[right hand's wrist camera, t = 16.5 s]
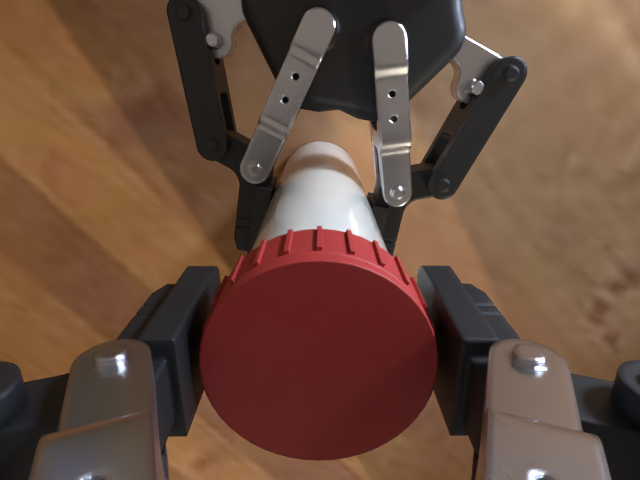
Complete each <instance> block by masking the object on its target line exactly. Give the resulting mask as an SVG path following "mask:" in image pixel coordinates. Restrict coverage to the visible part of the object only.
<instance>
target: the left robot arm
mask: <svg viewBox="0 0 640 480" xmlns="http://www.w3.org/2000/svg"><path fill="white" fill-rule="evenodd" d="M167 15H168V20H169V24H170V29H171V33H172V38H173V42H174V47H175V51H176V56H177V60H178V65H179V69H180V74H181V78H182V83H183V87H184V92H185V96H186V101H187V105H188V110H189V114H190V119H191V123H192V127H193V132H194V136H195V141H196V145H197V149H198V152H199V153H200V155H201V156H202V157H204V158H205V159H207V160H210V161H217V162H219V163H221V164H223V165H225V166H227V167H228V168H230V169H232V170H233V171H234V172H235V173H236V175H237V176H238V179H239V182H240V189H239V198H238V208H237V218H236V227H235V236H234V239H235V243H236V246H237V249H238V250H244V251H248V254H249V253H250V252H251V249H252V247H253V244H254V242H255V239H256V237H257V234H258V232H259V229H260V227H261V224H262V222H263V219H264V217H265V214H266V212H267V209H268V207H269V204H270V202H271V199H272V197H273V194H274V192H275V189H276V181H277V177H273V169H274V164H275V162H276V160H277V158H278V156H279V154H280V151H281V149H282V147H283V145H284V143H285V141H286V138H287V136H288V134H289V132H290V130H291V128H292V126H293V124H294V121H295V119H296V117H297V115H298V113H299V111H300V109H306V110H312V111H317V112H320V111H330V110H341V111H343V112H345V113H347V114H349V115H351V116H354V117H356V118H358V119H363V120H369V122H370V133H371V140H372V145H373V155H374V166H375V178H376V183H375V188H374V192H373V193H368V195H367V199H368V201H369V204H370V207H371V209H372V212H373V214H374V217H375V220H376V222H377V225H378V227H379V230H380V233H381V235H382V238H383V240H384V243H385V246H386V248H387V251H388V253H389V254H390V255H391V256H393V250H394V247H395V242H396V239H397V235H398V231H399V227H400V223H401V219H402V215H403V211H404V209H405V208H406V207H407V206H408V204H410V203H411V202H413V201H415V200H419V199H424V198H430V197H435V198H437V199H447V198H449V197H451V196H452V195H453V194H454V193H455V192H456V190H457V189H458V187H459V186H460V184H461V182H462V181H463V179H464V178H465V176H466V174H467V173H468V171H469V169H470V168H471V166H472V165H473V163H474V161H475V160H476V158H477V156H478V155H479V153H480V152H481V150H482V148H483V147H484V145H485V144H486V142H487V140H488V139H489V137H490V135H491V134H492V132H493V131H494V129H495V127H496V126H497V124H498V123H499V121H500V119H501V118H502V116H503V114H504V113H505V111H506V110H507V108H508V106H509V105H510V103H511V101H512V100H513V98H514V97H515V95H516V93H517V92H518V90H519V89H520V87H521V85H522V84H523V82H524V80H525V78H526V75H527V66H526V64H525V62H524V61H523V60H522V59H521V58H519V57H516V56H509V57H508V56H499V55H498V54H496V53H494V52H492V51H491V50H489V49H487V48H486V47H484V46H482V45H480V44H479V43H477V42H475V41H473V40H472V39H470V38H468V37H466V36H465V35H466V23H465V19H464V15H463V9H462V0H169V2H168V5H167ZM245 24H248V26H249V28H250V30H251V32H252V34H253V36H254V38H255V40H256V42H257V44H258V46H259V48H260V50H261V52H262V54H263V56H264V58H265V60H266V62H267V64H268V66H269V68H270V70H271V72H272V74H273V76H274V78H275V80H276V81H275V83H274V86H273V88H272V90H271V93H270V95H269V97H268V99H267V102H266V104H265V106H264V109H263V111H262V113H261V116H260V118H259V121H258V125H257V127H256V130H255V132H254V134H253V137H252V139H251V140H250V139H249V138H247V137H245V136H243V135H241V134H240V133H238V132H237V131H236V125H235V120H234V115H233V109H232V104H231V99H230V94H229V88H228V83H227V78H226V72H225V67H224V62H223V59H226V58H229V57H230V56H231V55H232V54H233V53H234V51H235V49H236V35H237V33H238V31H239V29H240V28H241V27H242V26H243V25H245ZM449 62H450V63H451V65H452V66H453V69H454V77H453V80H452V83H451V87H450V90H451V94H452V96H453V98H454V99H455V100H457V101H456V103H455V105H454V106H453V108H452V110H451V111H450V113H449V115H448V117H447V118H446V120H445V122H444V124H443V125H442V127H441V129H440V131H439V132H438V134H437V136H436V138H435V139H434V141H433V143H432V144H431V146H430V148H429V150H428V151H427V153H426V155H425V157H424V158H423V160H422V162H421V164H415V165H410V148H411V124H410V107H409V100H410V99H412V98H413V97H414V96H415V95H416V94H417V93H418V92H419V91H420V90H421V89H422V88H423V87H424V86H425V85H426V84H427V83H428V82H429V81H430V80H431V79H432V78H433V77H434V76H435V75H436V74H437V73H439V72H440V71H441V70H442V69H443V68H444V67H445V66H446V65H447V64H448V63H449ZM248 254H247V255H248Z"/></svg>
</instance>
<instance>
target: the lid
mask: <svg viewBox="0 0 640 480" xmlns="http://www.w3.org/2000/svg"><path fill="white" fill-rule="evenodd" d="M211 306H212V308H211V310H210V312H209V315H208V317H207V319H206V321H205V323H204V325H203V327H202V332H203V335H202V339H201V342H200V350H199V370H200V375H201V380H202V384H203V387H204V389H205V392H206V395H207V397H208V399H209V401H210V403H211V405H212V406H213V408H214V409H215V411H216V412H217V413H218V415H219V416H220V417H221V418H222V419H223V421H224V422H225V423H226V424H227V425H228V426H229V427H230V428H231V429H233V430H234V431H235V432H236V433H237V434H239V435H240V436H241V437H243V438H244V439H246V440H248V441H249V442H251V443H252V444H254V445H256V446H258V447H260V448H262V449H265V450H267V451H270V452H273V453H275V454H279V455H283V456H286V457H290V458H297V459H303V460H334V459H341V458H347V457H351V456H355V455H359V454H362V453H365V452H368V451H370V450H373V449H375V448H377V447H379V446H381V445H383V444H385V443H387V442H389V441H390V440H392V439H393V438H395V437H396V436H398V435H399V434H400V433H401V432H403V431H404V430H405V429H406V428H408V427H409V425H410V424H411V423H412V422H413V421H414V420H415V419H416V418H417V417H418V415H419V414H420V413H421V411H422V410H423V409H424V407H425V405H426V404H427V402H428V400H429V398H430V396H431V394H432V391H433V388H434V385H435V382H436V377H437V372H438V358H439V356H438V347H437V341H436V338H435V334H434V333H436V330H435V327H434V325H433V323H432V320H431V318H430V316H429V314H428V312H427V309H426V307H427V305H426V303H425V301H424V298H423V296H422V294H421V292H420V290H419V288H418V286H417V283H416V281H415V279H414V277H411V278H409V276H408V274H407V273H406V271H405V270H404V268H403V266H402V263H401V261H400V259H399V258H398V257H397V256H396V257H395V258H394V257H392V256H391V255H390V254H389V253H388V252H387V251H385V250H384V249H382V248H381V247H380V246H379V244H378V241H376V240H373V242H371V241H369V240H367V239H365V238H363V237H360V236H357V235H354V234H352V232H351V230H348V229H347V230H346V232H343V231H338V230H330V229H322V226H317V229H306V230H300V231H295V232H293V229H289V230H288V231H287V234H284V235H280V236H277V237H275V238H273V239H271V240H269V241H266V240H265V239H264V240H262V241H261V243H260V245H259V246H258V247H257V248H255V249H254V250H252V251H251V252H250V253H249V254H248V255H246V256H245V257H244V256H243V255H241V256H240V257H239V259H238V261H237V264H236V266H235V268H234V270H233V271H232V273H231V274H230V276H229V277H228V276H225V277H224V279H223V281H222V283H221V285H220V287H219V289H218V291H217V293H216V295H215V298H214V300H213V302H212V304H211Z"/></svg>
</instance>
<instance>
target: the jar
mask: <svg viewBox="0 0 640 480" xmlns="http://www.w3.org/2000/svg"><path fill="white" fill-rule="evenodd" d="M317 226H322V229H330V230H338V231H343V232H346V230H347V229H348V230H351V232H352V234H354V235H357V236H360V237H363V238H365V239H367V240H369V241H371V242H373V240H376V241H378V244H379V246H380V247H381V248H382V249H384V250H385V251H387V248H386V246H385V243H384V240H383V238H382V235H381V233H380V230H379V227H378V225H377V222H376V220H375V217H374V214H373V212H372V209H371V207H370V204H369V201H368V199H367V196H366V194H365V191H364V188H363V186H362V183H361V181H360V178H359V175H358V173H357V170H356V168H355V165H354V163H353V161H352V159H351V158H350V156H349V155H348V154H347V153H346V152H345V151H344V150H343V149H342V148H340V147H338V146H337V145H334V144H332V143H328V142H311V143H308V144H305V145H303V146H301V147H300V148H298V149H297V150H296V151H294V152H293V153H292V155H291V156H290V157H289V159H288V160H287V162H286V164H285V167H284V169H283V172H282V174H281V177H280V179H279V182H278V184H277V187H276V189H275V192H274V194H273V197H272V199H271V202H270V204H269V207H268V209H267V212H266V214H265V217H264V219H263V222H262V224H261V227H260V229H259V232H258V234H257V237H256V239H255V242H254V244H253V247H252V249H251V251H252V250H254V249H255V248H257V247H258V246H259V245H260V243H261V241H262V240H264V239H265V240H266V241H269V240H271V239H273V238H275V237H277V236H280V235H284V234H287V231H288V230H289V229H293V232H295V231H300V230H306V229H317ZM387 252H388V251H387Z"/></svg>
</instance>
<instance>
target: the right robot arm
mask: <svg viewBox="0 0 640 480" xmlns="http://www.w3.org/2000/svg"><path fill="white" fill-rule="evenodd" d="M220 285H221V282H220V273H219V269H218V267H217V266H188V267H187V268H186V270H185V271H184V272H183V274H182V275H181V277H180V278H179V280H178V281H177V283H176V284H167V285H165V286H163V287H162V288H160V289H159V290H157V291H155V292H154V293H152V294H151V295H150V297H149V298H148V299H147V301H146V302H145V303H144V306H143V307H141V308H140V310H139V311H138V312H137V315H136V316H134V317H133V319H132V320H131V321H130V322H129V324H128V325H127V326H126V328H125V329H124V330H123V331H122V333H121V334H120V335H119V337H118V338H117V339H116V340H113V341H109V342H105V343H102V344H99V345H97V346H94V347H92V348H90V349H88V350H87V351H85V352H83V353H82V354H81V355H80V356H78V357H77V358H76V359H75V360H74V362H73V364H72V366H71V368H70V373H67V374H64V375H59V376H55V377H49V378H44V379H39V380H34V381H29V382H24V381H23V378H22V374H21V371H20V369H19V367H18V366H17V365H15V364H13V363H10V362H0V480H170V475H169V464H168V456H167V450H166V444H165V443H166V441H167V438H168V436H187V434H188V431H189V429H190V426H191V423H192V421H193V418H194V415H195V413H196V410H197V407H198V405H199V402H200V399H201V396H202V394H203V391H204V387H203V384H202V380H201V375H200V370H199V350H200V342H201V339H202V335H203V332H202V327H203V325H204V323H205V321H206V319H207V317H208V315H209V312H210V310H211V308H212V306H211V304H212V302H213V300H214V298H215V295H216V293H217V291H218V289H219V287H220ZM417 286H418V288H419V290H420V292H421V294H422V296H423V298H424V301H425V303H426V305H427V307H426V309H427V312H428V314H429V316H430V318H431V320H432V323H433V325H434V327H435V330H436V333H434V334H435V338H436V341H437V347H438V356H439V358H438V372H437V377H436V382H435V385H434V388H433V390H434V392H435V395H436V398H437V401H438V403H439V406H440V409H441V412H442V414H443V417H444V420H445V423H446V425H447V428H448V431H449V434H450V435H468V436H469V439H470V441H471V443H472V446H473V448H474V450H473V456H472V464H471V475H470V480H640V360H634V361H628V362H625V363H622V364H621V365H620V366H619V368H618V370H617V374H616V377H615V381H614V382H612V381H606V380H601V379H596V378H591V377H586V376H581V375H576V374H572V373H570V368H569V366H568V364H567V362H566V360H565V359H564V358H563V357H562V356H560V355H559V354H558V353H557V352H555V351H553V350H552V349H550V348H548V347H546V346H543V345H541V344H538V343H535V342H531V341H527V340H521V339H520V338H519V336H518V335H517V334H516V332H515V331H514V330H513V328H512V327H511V326H510V325H509V323H508V322H507V321H506V319H505V318H504V317H503V315H501V313H500V312H499V310H498V309H497V308H496V306H494V304H493V302H492V301H491V300H490V298H489V297H488V296H487V295H486V293H484V292H483V291H481V290H480V289H478V288H476V287H475V286H473V285H471V284H462V283H461V282H460V280H459V279H458V277H457V276H456V274H455V273H454V271H453V270H452V269H451V267H450V266H420V268H419V271H418V279H417Z"/></svg>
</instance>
